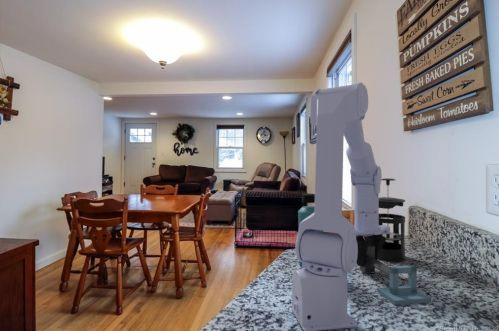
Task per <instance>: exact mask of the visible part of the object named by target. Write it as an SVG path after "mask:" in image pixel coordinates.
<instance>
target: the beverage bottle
mask: <svg viewBox="0 0 499 331" xmlns="http://www.w3.org/2000/svg"><path fill="white" fill-rule="evenodd" d="M301 196H302V197H301V203H305V204H315V193H303V194H302V195H301ZM314 209H315V205H306V206H304V205H303V206H302V207H301V208H300V209H298V211H297V213H298V214H297V216H298V218H297V219H298V224H297V225H299V224H300V223H301V222H302V221H303V220H304V219H305V218H307V217H308V216H310V215H311V214H313V213H314ZM313 230H315V229H313ZM316 231H323V230H316ZM298 265H299V267H300V268H301V269H303V268H302V262H300V261H299V260H298Z"/></svg>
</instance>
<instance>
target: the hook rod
mask: <svg viewBox="0 0 499 331" xmlns="http://www.w3.org/2000/svg"><path fill="white" fill-rule="evenodd" d="M390 267H391V266H389V265H387V264H386V263H383V261H381V260H378V259H375V246H373V245H371V244H369V245H368V248H367V253H366V264H365V267H362V266H359V270H360V271H361V272H362V273H364V274H374V273H376V270H377V271H379V272H381V273H382V274H384V275H385V276H387V277H388V278H390ZM399 277H400V274H398V278H399Z"/></svg>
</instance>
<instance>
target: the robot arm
mask: <svg viewBox="0 0 499 331" xmlns="http://www.w3.org/2000/svg"><path fill="white" fill-rule="evenodd" d="M309 104H310V106H309V107H310V108H309V109H310V111H309V112H310V113H309V118H310V119H309V120H310V121H309V123H310V125H312V126H316V134H315V135H316V137H315V138H316V139H315V140H316V143H315V180H314V181H315V183H314V194H315V203H314V206H315V209H314V213H313V214H311V215H310V216H308V217H307V218H305V219H304V220H303V221H302V222H301V223H300V224H298V230H297V231H298V232H297V236H296V240H295V244H294V245H295V248H294V250H295V255H296V257H297V259H298V262H299V261H300V262H302V268H301V269H296V270H294V271H293V273H292V277H291V278H292V280H291V281H292V282H291V283H292V284H291V288H292V289H291V292H292V293H291V294H292V295H291V296H292V297H291V298H292V299H291V300H292V302H291V304H292V306H290V307H291V309H290V310H291V312H292V313H293V315H294V316H295V318H296V320H297V322H298V324H299V326H300V327H301V328H302V331H327V330H336V329H337V330H340V329H350V328H357V327H358V322H356V321H355V320H354V318H353V317H352V316H351V315H350V314H349V312H348V273H349V272H352V270H354V269H355V266H356V265H357V266H359V267H360V266H362V267H365V264H366V253H367V248H368V245H369V244H371V245H373V246H375V259H377V260H378V255H379V252H380V249H381V247H382V245H383V244H384V242H387V240H386V237H384V236H381V234H390V232H391V226H390V225H389V226H387V225H385V224H383V225H380V226H379V214H380V213H379V211H380V210H379V209H380V208H379V198H380V197H379V194H381V183H382V180H381V179H382V175H383V174H382V168H381V166H380V165H379V166H378V165H377V163H376V159H375V156H374V152H373V149H372V145H371V144H370V143H369V142H367V141H365V135H364V129H363V128H364V126H363V120H364V119H365V116H366V113H367V112H368V109H369V94H368V89H367V87H366V85H365V84H364V83H363V82H358V83H353V84H348V85H342V86H336V87H335V86H334V87H328V88H318V89H316V90H314V92H313V93H311V95H310V103H309ZM344 140H345V141H346V144H347V148H346V151H345V153H346V157H347V159H348V163H349V165H350V169H349V172H350V182H351V185H352V186H353V187H354V188H353V189H354V192H353V193H354V194H353V195H354V196H353V197H354V202H353V203H354V214H353V215H354V224H353V223H351V221H349V220H348V219H347V218H346V217H345V216H344V215H343V187H344V186H343V181H344V180H343V176H344V173H343V172H344ZM313 229H315V230H313ZM316 230H323V231H316Z"/></svg>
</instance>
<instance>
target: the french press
mask: <svg viewBox="0 0 499 331" xmlns="http://www.w3.org/2000/svg"><path fill="white" fill-rule="evenodd" d="M381 181H385V185H386V194H387V196H383V197H379V209H385V210H386V209H387V210H386V212H387V213H379V226H380V225H384V224H387V225H386V226H390V225H391V224H392V232H391V231H390V234H381V236H384V237H386V241H385V242H384V244H383V245H382V247H381V249H380V252H379V255H378V259H377V260H379V261H380V262H388V263H402V262H405V261H406V260H407V256H406V245H405V239H406V238H405V233H406V232H405V225H406V224H405V223H406V216H404V215H402V214H401V215H400V214H395V213H390V212H389V211H390V209H393V208H395V207H404V203H405V202H406V200H405V199H402V198H396V197H391V196H389V194H390V193H389V190H390V188H389V186H390V184H391V181H396V178H388V177H387V178H381ZM389 224H390V225H389Z"/></svg>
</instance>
